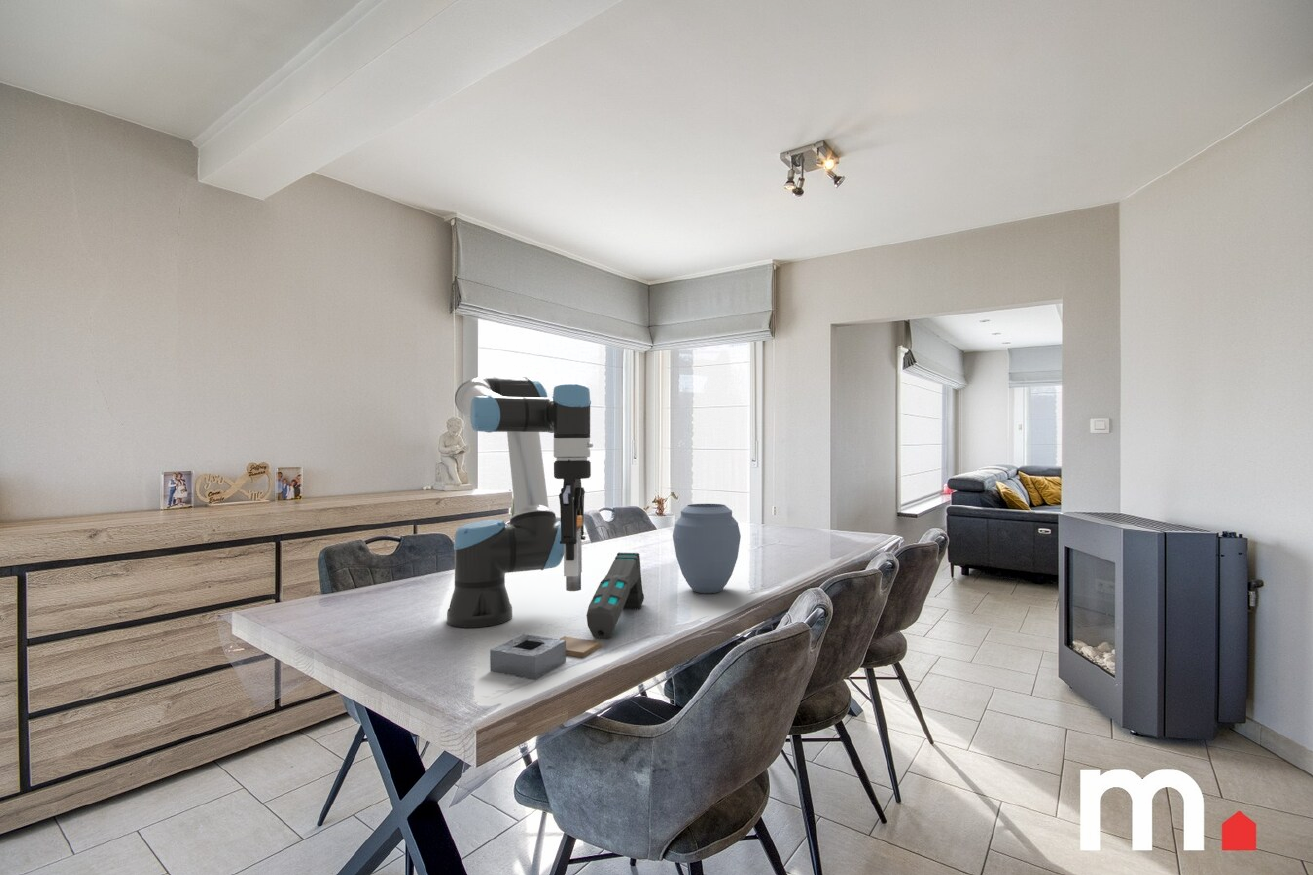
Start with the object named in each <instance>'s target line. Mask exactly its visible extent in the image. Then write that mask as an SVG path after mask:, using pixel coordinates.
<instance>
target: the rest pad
mask: <svg viewBox="0 0 1313 875" xmlns="http://www.w3.org/2000/svg"><path fill="white" fill-rule="evenodd" d="M559 639H560V640H566V656H570V657H575V658H585V657H587V656H588V655H590V654H592V653H594V652H595V651H596V650H598V649H600V648H602V641H598V640H591V639H584V638H577V637H570V636H566V635H565V636H562V637H560V638H559Z"/></svg>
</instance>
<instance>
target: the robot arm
mask: <svg viewBox="0 0 1313 875" xmlns="http://www.w3.org/2000/svg"><path fill="white" fill-rule="evenodd" d="M454 403H455V405H456V408H457V409H458V411H459V412H460V413H461V414H463V415H464V416H465V417H468V418H470V420H469V421H470V426H471V428H472V430H474V431H475V432H484V433H494V432H495V433H504V432H505V433H506V435H507V447H508V455H509V464H510V465H509V466H510V475H511V476H510V477H511V486H512V496H513V505H514V514H513V515H512V516H511V517H510V518H509V524H506V522H505V520H503V519H500V518H499V519H487V520H480V521H475V522H471V523H467V524H464V525H462V526H460V527H458V528H457V530H456V531H455V533H454V545H453V550H454V590H453V593H452V597H451V600H450V604H449V606H448V607H449V608H448V609H447V611H446V623H447V624H448V625H450V626H452V627H457V628H466V629H467V628H469V629H470V628H473V629H474V628H483V627H491V626H495V625H500V624H503V623H505V622H507V621H510V620H511V619H512V617H513V606H512V604H511V602H510V598H509V595H508V590H507V589H506V581H505V580H506V578H505V577H506V574H508V573H518V572H519V573H521V572H528V571H530V572H531V571H539V570H540V571H544V570H547V569H548V570H549V569H553V568H556V567H558V566H559V565H560V564H561V563H562V561H563V566H564V567H563V573H564V574H563V576H564V577H566V576H578V543H576V542H577V515H582V526H581V573H582V572H583V556H582V555H583V553H582V552H583V547H582V546H583V544H582V541H585V540H586V535H584V534H585V532H584V527H585V526H584V525H585V524H584V523H585V522H584V521H585V520H584V519H585V517H584V515H585V514H584V512H585V510H584V509H585V493H586V491H585V488H584V487H582V480H584V479H589V478H591V475H592V466H591V465H592V464H591V460H589V459H588V458H590V457H591V448H593V447H594V444H593V442H591V404H592V401H591V391H590V387H589V386H588V385H587V384H581V383H560V384H556V385H554V387H553V394H552V397H548V392H547V389H546V387H545V385H544V383H543V381H541V380H539V379H536V378H529V377H526V376H525V377H524V376H523V377H508V376H507V377H506V376H505V377H504V376H492V375H491V376H488V375H486V376H484V375H483V376H477V377H474V378H471V379H469V380H466V381H464V382H463V383H462V384H460V385H459V387H458V388H457V389H456V392H455V394H454ZM540 433H551V434H553V458H554V459H556V460H554V462H553V477H554V479H557V480H563V486H562V488H561V489H560V493H559V494H558V498H559V506H560V512H559V513H560V520H558V521H557V517H556V513H555V512H554V510H551V508H549V500H548V493H547V484H546V478H545V467H544V462H543V453H542V452H543V451H542V445H541V436H540Z"/></svg>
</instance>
